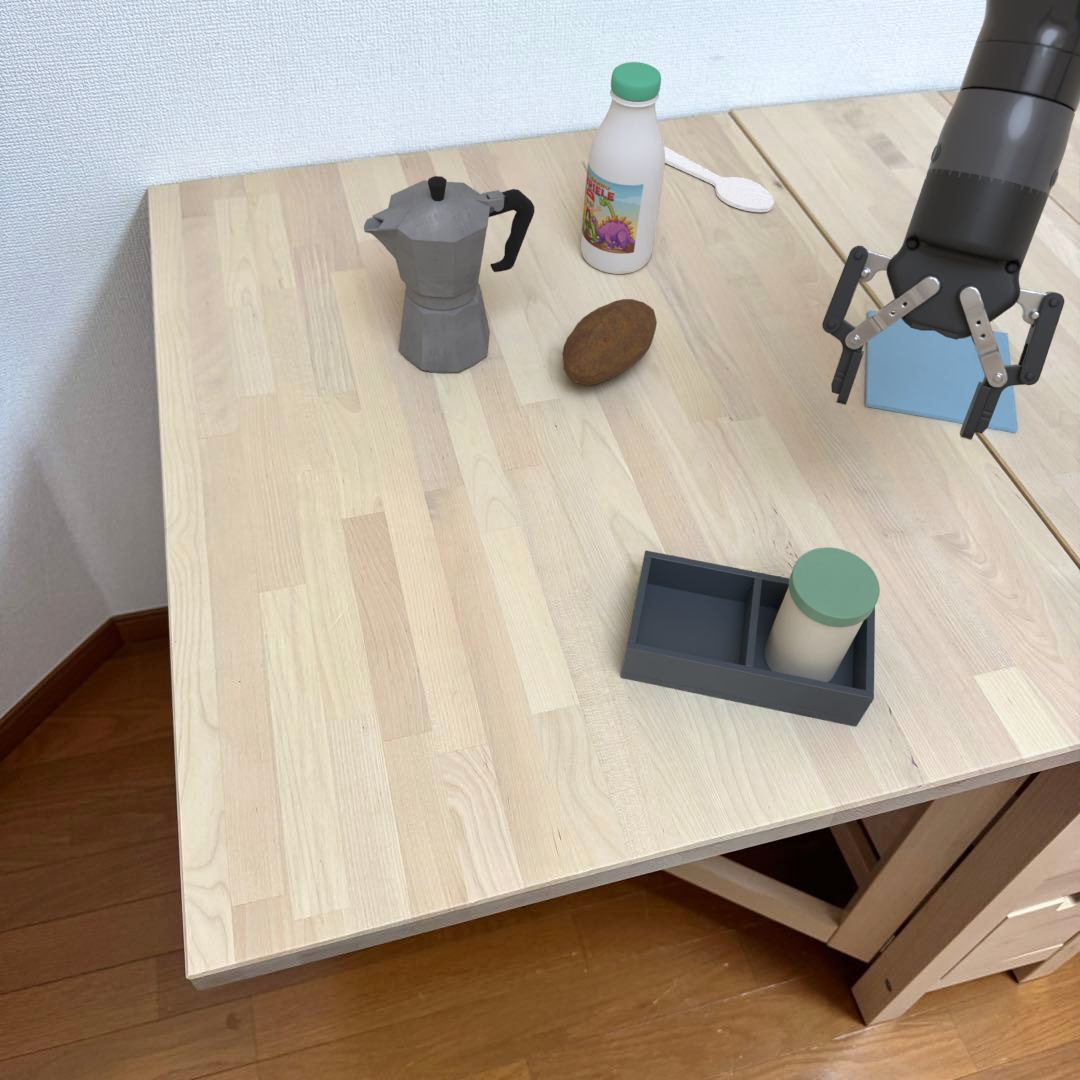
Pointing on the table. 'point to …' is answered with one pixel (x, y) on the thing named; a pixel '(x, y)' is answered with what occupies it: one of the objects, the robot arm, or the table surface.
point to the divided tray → (733, 641)
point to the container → (821, 613)
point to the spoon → (726, 185)
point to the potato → (609, 341)
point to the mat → (931, 375)
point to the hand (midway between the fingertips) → (902, 419)
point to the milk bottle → (625, 174)
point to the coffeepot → (446, 266)
